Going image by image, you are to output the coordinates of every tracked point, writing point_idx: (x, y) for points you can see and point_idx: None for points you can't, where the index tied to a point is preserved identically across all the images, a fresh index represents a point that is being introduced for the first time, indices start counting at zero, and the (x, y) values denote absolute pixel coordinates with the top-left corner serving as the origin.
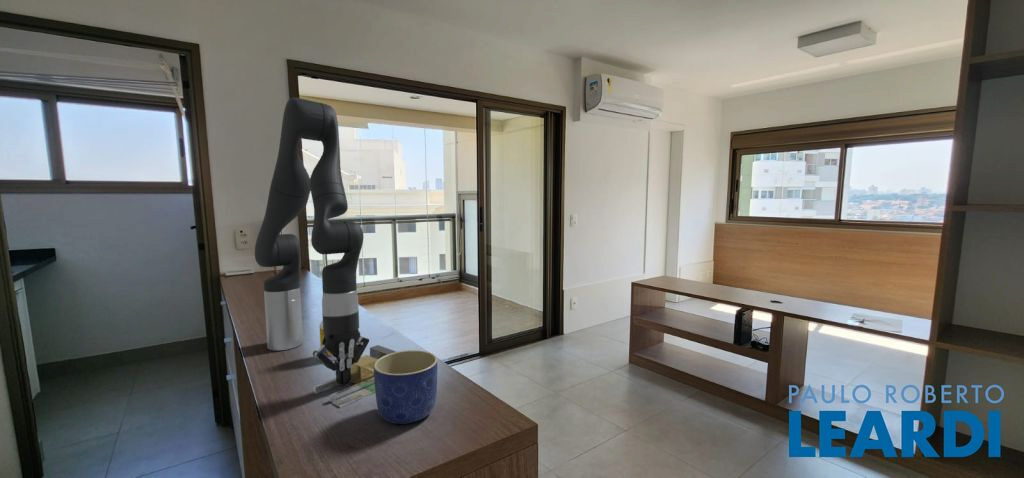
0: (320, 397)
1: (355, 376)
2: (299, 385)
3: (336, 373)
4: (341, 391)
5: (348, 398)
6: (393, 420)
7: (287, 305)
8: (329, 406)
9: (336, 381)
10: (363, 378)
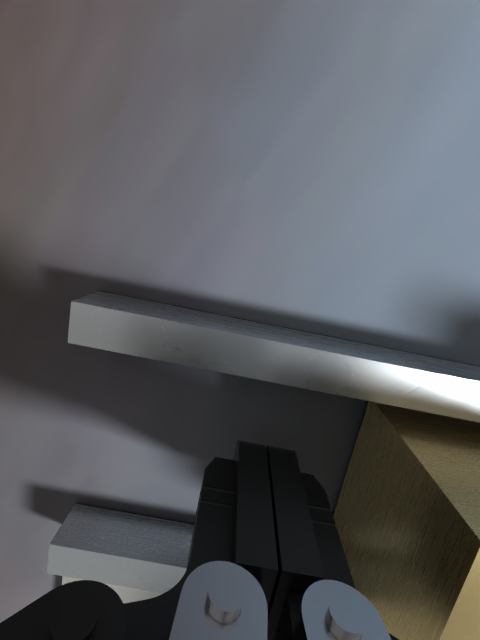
0: (81, 400)
1: (364, 534)
2: (122, 19)
3: (191, 547)
4: (137, 575)
5: (148, 597)
6: None
7: None
8: (39, 542)
9: (208, 465)
10: None
